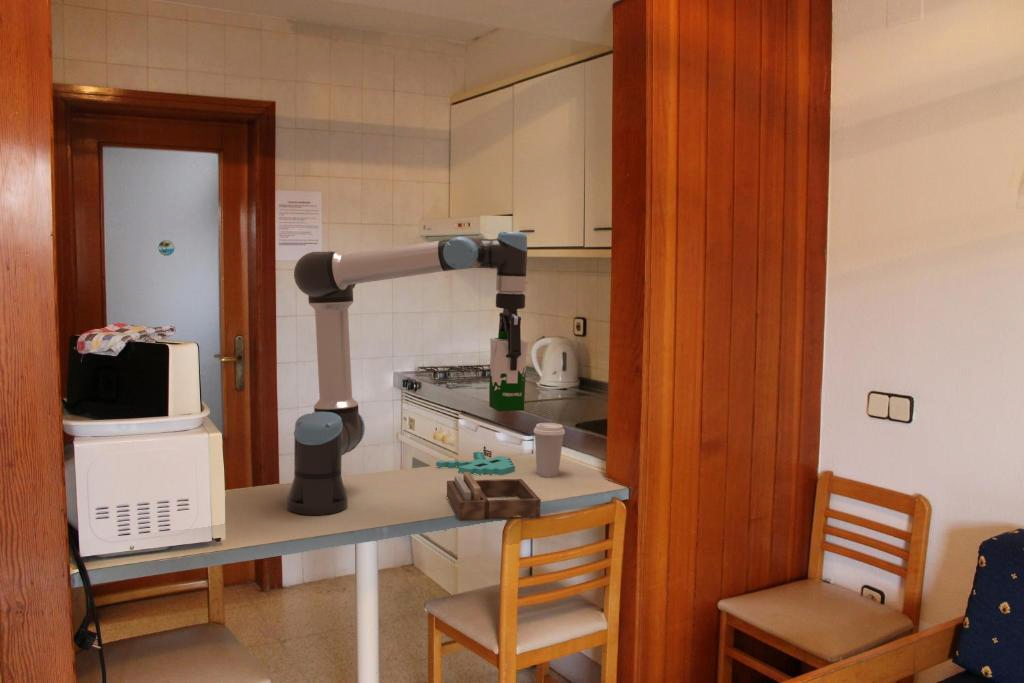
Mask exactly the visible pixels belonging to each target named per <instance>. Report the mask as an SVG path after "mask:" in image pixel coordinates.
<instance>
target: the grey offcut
mask: <svg viewBox="0 0 1024 683" xmlns="http://www.w3.org/2000/svg"><path fill="white" fill-rule="evenodd" d="M454 481H455V482H454V486H455V487H456V489H457V490H458V492H459V494H460V495H461V497H462V499H463V500H464V501H471V491H470V490H469V488H468V487H467V485H466V484H465V482H464V481H463V477H462V476H461V475H454Z"/></svg>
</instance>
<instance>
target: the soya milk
mask: <svg viewBox="0 0 1024 683" xmlns="http://www.w3.org/2000/svg"><path fill="white" fill-rule="evenodd" d="M498 333H499V335H498V334H497V337H491V338H490V339H489V340H490V341H489V342H490V343H489V344H490V357H489V358H490V359H489V360H490V361H489V387H488V388H489V390H488V393H489V394H488V395H489V399H488V400H489V404H488V405H489V408H492V409H493V410H495V411H496V412H497V411H498V412H517V411H518V412H519V411H525V396H526V374H527V373H526V370H527V369H526V368H527V353H528V345H529V341H527V340H525V339H522V338H521V356H519V358H518V382H517V383H506V379H507V358H506V355H507V354H508V340H507V333H506V332H505V331H501V330H500V331H499V330H498Z"/></svg>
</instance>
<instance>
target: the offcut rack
mask: <svg viewBox="0 0 1024 683" xmlns="http://www.w3.org/2000/svg"><path fill="white" fill-rule="evenodd" d="M475 481H476V482H477V484H478V485H479V486H480V488H481V495H480V500H475V501H464V500H463V499H462V497H461V495H460V494H459V492H458V490H457V489H456V487H455V486H454V482H455V480H446V498H447V497H448V499H449V500H448V499H447V500H448V502H449V501H450V502H449V504H450V503H451V504H450V506H451V505H452V506H451V508H452V507H453V508H452V510H453V511H454V512H455V515H456V516H457V518H458V520H459V521H471V520H472V521H473V520H496V519H497V520H500V519H503V520H505V519H511V518H510V517H512V516H514V515H519V516H521V517H522V518H521V519H524V518H525V519H526V518H529V519H531V518H541V507H542V506H541V503H542V502H541V501H542V500H541V498H540V497H539V496H538V495H537V494H536V492H534V491H533V489H531V487H530V486H529V485H528V484H527V483H526V482H525V481H524V480H523V479H522V478H505V479H501V478H500V479H498V478H495V479H475ZM491 496H505V497H518V498H513V499H512V498H510V499H507V498H506V499H488V498H492V497H491Z"/></svg>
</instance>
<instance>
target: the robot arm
mask: <svg viewBox="0 0 1024 683" xmlns="http://www.w3.org/2000/svg"><path fill="white" fill-rule="evenodd" d="M528 252H529V251H528V236H527V234H526V233H525V232H520V231H499V232H498V234H497V238H492V239H489V238H473V237H472V238H471V237H466V236H456V237H453V238H449V239H444V240H443V239H442V240H435V241H428V242H421V243H415V244H407V245H401V246H392V247H387V248H380V249H372V250H366V251H358V252H352V253H346V254H344V253H342V252H340V251H338V250H336V251H332V250H331V251H312V252H309V253H306V254H304V255H302V256H301V257H300V258H299V259H298V261H297V262H296V263H295V267H294V270H293V278H294V279H293V280H294V281H295V284H296V286H297V288H298V289H299V291H301V292H302V293H303V294H305V295H307V296H308V298H307V299H308V305H309V306H311V307H312V308H313V310H314V316H315V317H314V318H315V336H316V351H317V352H316V354H317V356H316V357H317V372H318V373H317V375H318V393H319V396H318V397H319V399H318V401H317V402H316V403H315V404H314V406H313V410H314V411H313V412H311V413H305V414H303V415H301V416H300V417H298V418H297V420H296V421H295V424H294V431H293V436H294V463H293V464H294V475H293V476H294V478H293V481H292V484H291V487H290V489H289V492H288V495H287V499H286V509H287V510H288V511H290V513H291V512H292V513H294V514H300V515H306V516H317V515H318V516H323V515H331V514H336V513H340V512H343V511H344V510H346V509H347V508H348V507H349V505H348V504H349V498H348V494H347V491H346V488H345V484H344V480H343V478H342V457H343V455H346V454H348V453H350V452H352V451H353V450H354V449H356V448H357V446H358V445H359V444H360V443H361V441H362V440H363V438H364V434H365V430H366V428H365V421H364V419H363V417H362V414H360V413H359V403H358V401H357V400H355V398H354V397H353V390H352V389H353V388H352V387H353V385H352V367H351V345H350V344H351V342H350V328H349V324H350V323H349V308H350V307H351V305H353V303H354V288H355V287H356V285H358V284H365V283H372V282H379V281H384V280H391V279H399V278H407V277H413V276H421V275H429V274H432V273H442V272H448V271H450V272H451V271H455V270H456V271H458V270H467V269H491V270H492V269H493V270H494V269H495V270H496V275H495V276H496V277H495V278H496V279H495V281H496V282H495V283H496V284H495V290H496V291H497V293H496V294H495V307H496V308H497V309H503V310H502V312H499V315H498V316H499V323H498V334H497V336H498V335H499V331H500V330H501V331H505V332H506V333H507V340H508V354H507V355H506V358H507V379H506V383H517V382H518V358H519V356H521V339H522V338H521V337H522V335H521V334H522V333H521V324H522V321H521V320H522V317H521V316H519V314H518V310H522V309H525V308H526V294H524V293H525V292H526V285H527V284H528V283H529V281H528V279H527V277H526V276H527V265H528V264H527V263H528Z"/></svg>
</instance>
